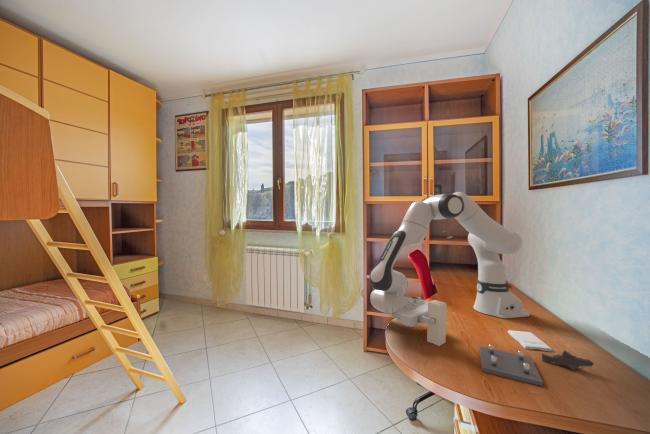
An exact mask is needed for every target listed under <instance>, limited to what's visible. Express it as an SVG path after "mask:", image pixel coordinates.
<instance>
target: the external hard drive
mask: <svg viewBox="0 0 650 434" xmlns="http://www.w3.org/2000/svg"><path fill="white" fill-rule="evenodd" d="M507 334H509V336H510V337H511V338H513V339H514V340H515V341H516V342H517V341H518V342H519V343H520V344H519V343H518V342H517V343H518V344H519V345H521V346H522V348H523V349H525V348H529V349H528V350H533V349H538V350H537V351H544V352H553V348H551V347H550V346H549V345H548V344H546V343H545V342H544V341H543V340H541V339H540V338H539V337H537V335H535V334H534V333H532V332H531V331H524V330H511V329H509V330H507Z"/></svg>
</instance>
